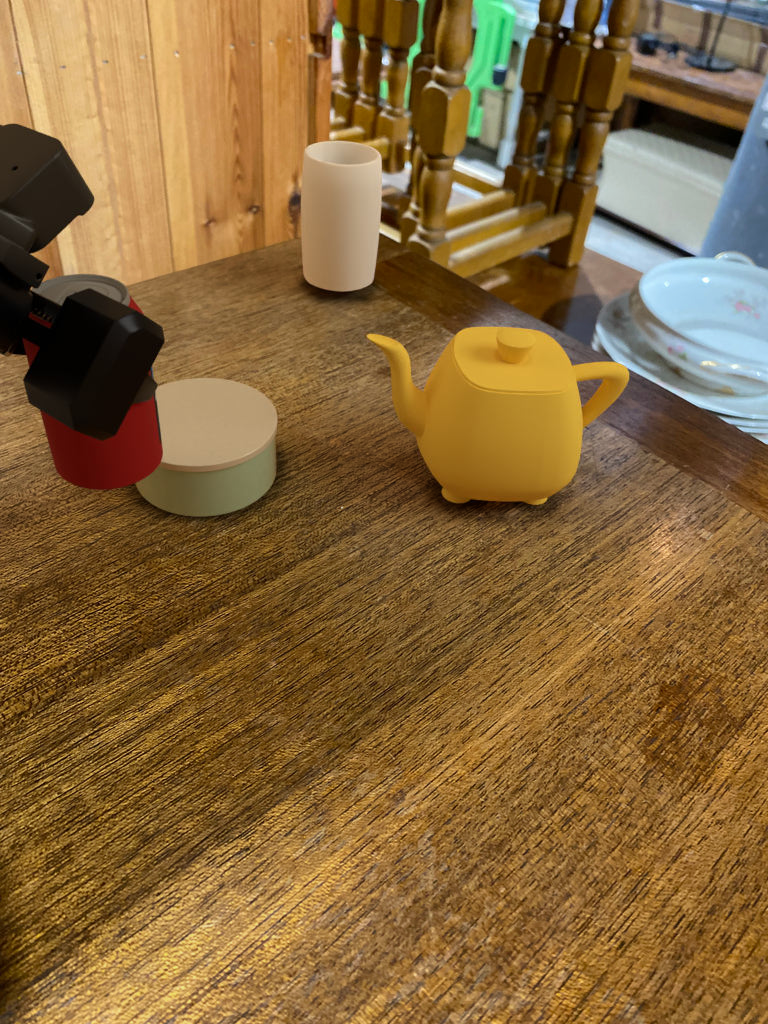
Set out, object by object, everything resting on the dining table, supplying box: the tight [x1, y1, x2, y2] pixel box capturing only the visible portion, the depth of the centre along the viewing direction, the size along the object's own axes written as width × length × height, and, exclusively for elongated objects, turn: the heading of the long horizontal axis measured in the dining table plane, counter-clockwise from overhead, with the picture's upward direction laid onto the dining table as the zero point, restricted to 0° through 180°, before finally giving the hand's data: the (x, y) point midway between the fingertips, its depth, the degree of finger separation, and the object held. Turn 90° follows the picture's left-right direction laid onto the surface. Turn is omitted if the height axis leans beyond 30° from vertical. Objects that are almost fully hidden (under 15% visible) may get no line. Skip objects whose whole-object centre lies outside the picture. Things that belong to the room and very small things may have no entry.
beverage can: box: [22, 273, 163, 491], centre depth 47 cm, size 7×7×12 cm
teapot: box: [366, 326, 630, 506], centre depth 60 cm, size 13×20×12 cm
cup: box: [300, 140, 383, 292], centre depth 83 cm, size 8×8×14 cm
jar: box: [134, 377, 279, 518], centre depth 60 cm, size 11×11×5 cm
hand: (113, 370), depth 47 cm, fingers closed on beverage can, 7 cm apart
